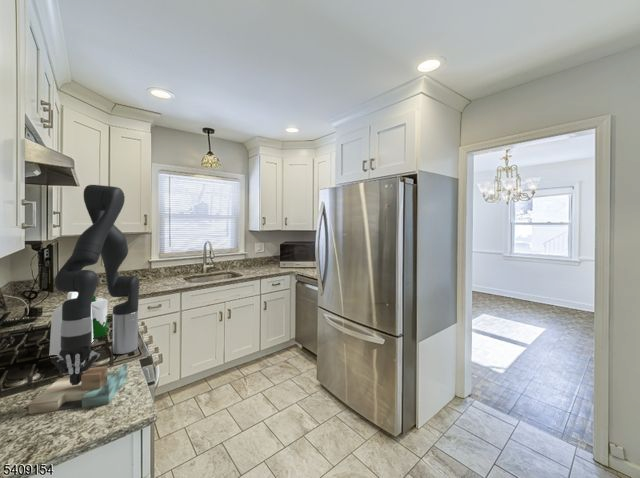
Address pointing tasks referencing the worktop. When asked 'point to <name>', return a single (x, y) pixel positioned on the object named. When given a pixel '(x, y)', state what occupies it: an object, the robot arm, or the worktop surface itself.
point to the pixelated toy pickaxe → (77, 394)
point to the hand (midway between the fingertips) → (76, 383)
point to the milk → (56, 327)
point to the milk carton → (99, 316)
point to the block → (94, 378)
